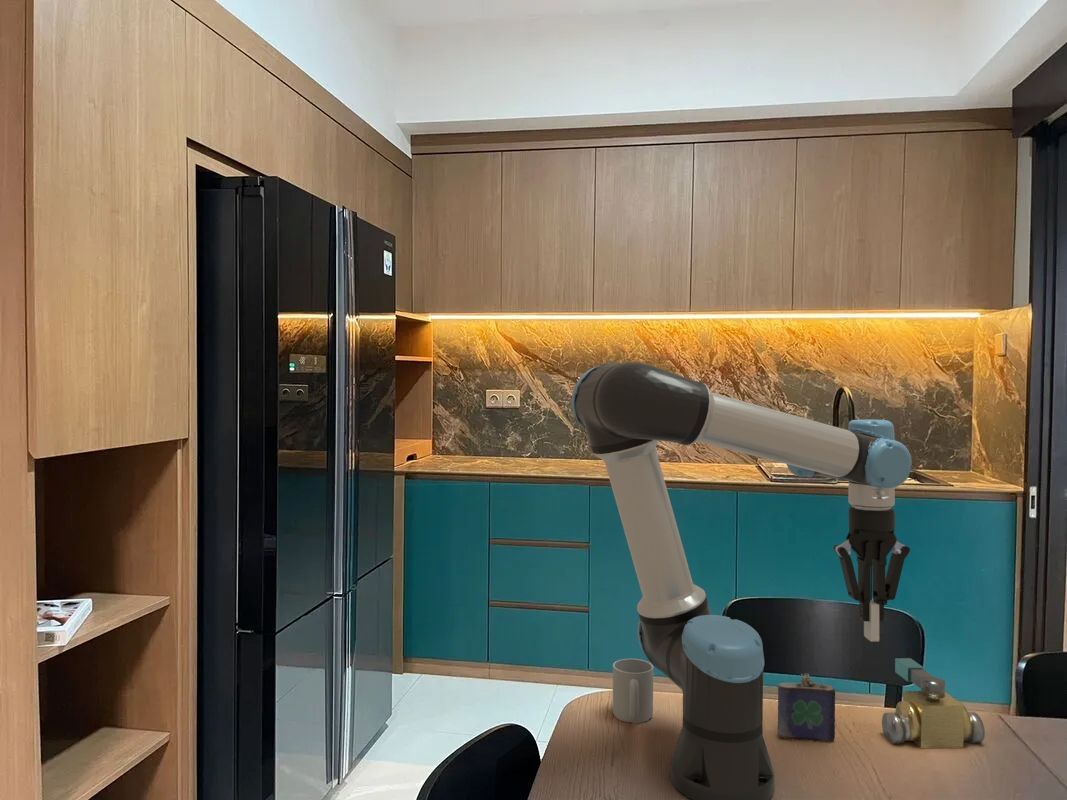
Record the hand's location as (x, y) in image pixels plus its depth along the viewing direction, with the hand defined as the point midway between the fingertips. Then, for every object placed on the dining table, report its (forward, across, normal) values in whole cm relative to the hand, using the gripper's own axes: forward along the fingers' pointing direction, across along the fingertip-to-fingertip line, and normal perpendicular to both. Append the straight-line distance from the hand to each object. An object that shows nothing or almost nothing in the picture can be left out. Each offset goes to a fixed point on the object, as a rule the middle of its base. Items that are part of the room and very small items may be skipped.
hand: (871, 638), depth 135 cm
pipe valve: (+14, +6, -8) cm, 18 cm away
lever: (+7, +7, -4) cm, 10 cm away
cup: (+14, -42, +1) cm, 45 cm away
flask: (+14, -14, -7) cm, 22 cm away
